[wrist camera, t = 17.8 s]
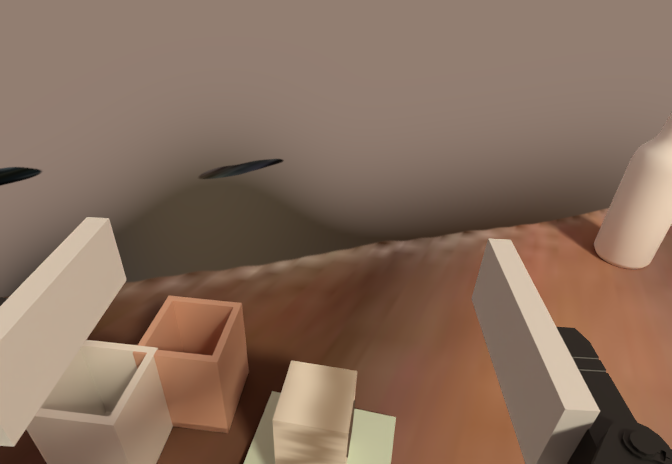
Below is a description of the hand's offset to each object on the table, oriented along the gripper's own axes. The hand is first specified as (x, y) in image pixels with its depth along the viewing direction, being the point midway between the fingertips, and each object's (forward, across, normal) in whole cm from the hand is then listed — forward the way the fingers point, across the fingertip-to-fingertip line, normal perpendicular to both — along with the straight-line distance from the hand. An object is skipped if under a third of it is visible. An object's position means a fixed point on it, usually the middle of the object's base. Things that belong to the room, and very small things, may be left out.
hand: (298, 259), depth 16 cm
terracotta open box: (+18, +13, +34) cm, 41 cm away
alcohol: (+51, -50, +34) cm, 79 cm away
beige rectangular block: (+11, 0, +33) cm, 35 cm away
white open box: (+12, +19, +34) cm, 41 cm away
